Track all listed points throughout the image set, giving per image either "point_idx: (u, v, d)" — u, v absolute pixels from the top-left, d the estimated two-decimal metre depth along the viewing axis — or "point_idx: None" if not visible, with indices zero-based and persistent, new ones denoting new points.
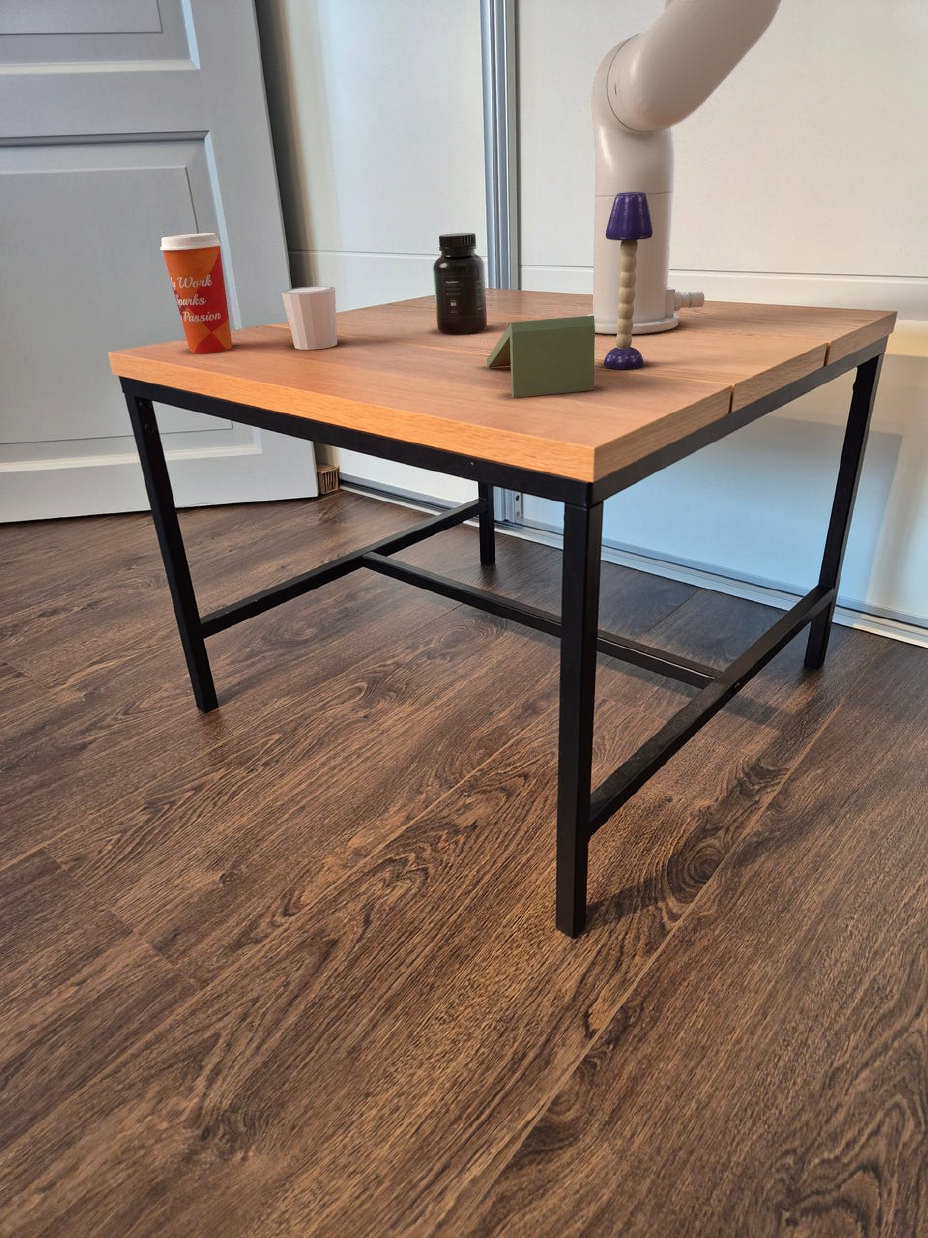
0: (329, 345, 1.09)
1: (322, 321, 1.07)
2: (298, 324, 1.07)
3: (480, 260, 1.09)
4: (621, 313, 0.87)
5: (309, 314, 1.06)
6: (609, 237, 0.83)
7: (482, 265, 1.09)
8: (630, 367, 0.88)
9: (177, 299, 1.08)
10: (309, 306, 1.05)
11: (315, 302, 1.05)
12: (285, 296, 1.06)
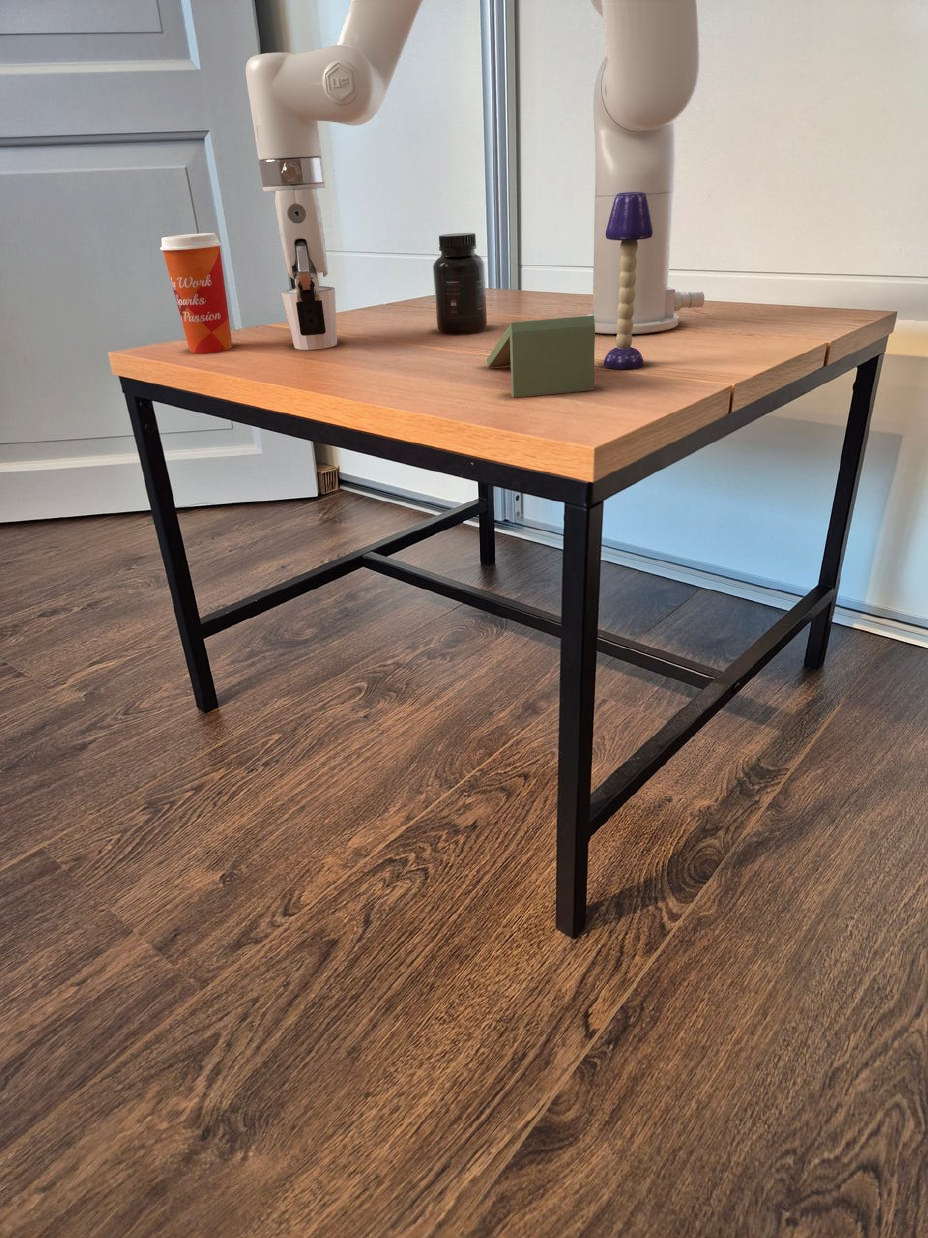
0: (329, 345, 1.09)
1: None
2: (298, 324, 1.07)
3: (480, 260, 1.09)
4: (621, 313, 0.87)
5: None
6: (609, 237, 0.83)
7: (482, 265, 1.09)
8: (630, 367, 0.88)
9: (177, 299, 1.08)
10: None
11: None
12: (285, 296, 1.06)
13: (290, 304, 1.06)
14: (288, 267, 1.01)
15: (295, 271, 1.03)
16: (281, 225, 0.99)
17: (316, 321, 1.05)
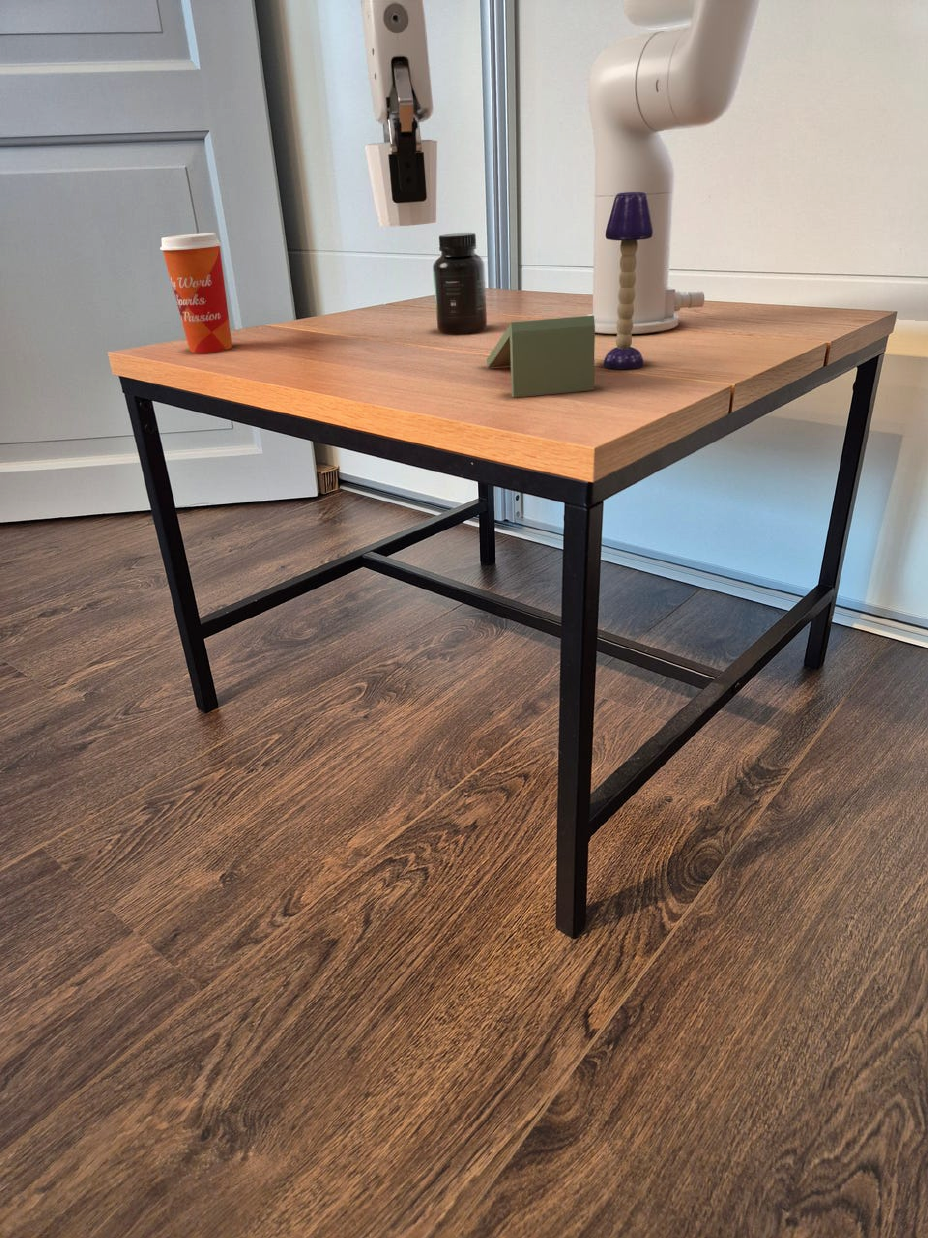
0: (427, 221, 0.80)
1: None
2: (388, 189, 0.78)
3: (480, 260, 1.09)
4: (621, 313, 0.87)
5: None
6: (609, 237, 0.83)
7: (482, 265, 1.09)
8: (630, 367, 0.88)
9: (177, 299, 1.08)
10: None
11: None
12: (371, 149, 0.77)
13: (378, 160, 0.77)
14: (381, 100, 0.73)
15: None
16: (373, 36, 0.71)
17: (415, 181, 0.76)
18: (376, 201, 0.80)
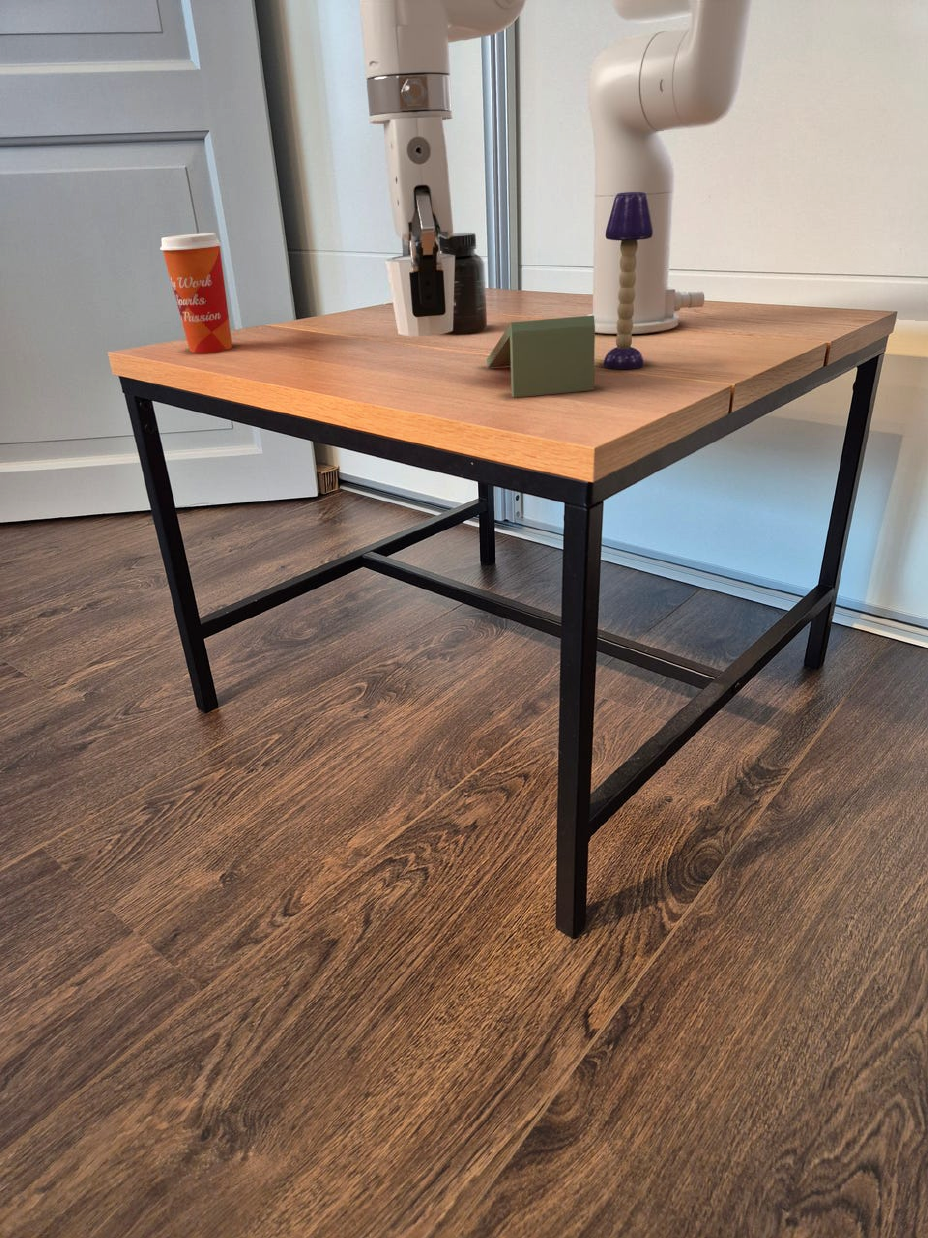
0: (445, 330, 0.83)
1: None
2: (408, 302, 0.81)
3: (480, 260, 1.09)
4: (621, 313, 0.87)
5: None
6: (609, 237, 0.83)
7: (482, 265, 1.09)
8: (630, 367, 0.88)
9: (177, 299, 1.08)
10: None
11: None
12: (392, 265, 0.80)
13: (399, 275, 0.80)
14: (403, 224, 0.76)
15: (410, 230, 0.77)
16: (397, 166, 0.74)
17: (435, 298, 0.79)
18: (396, 311, 0.83)
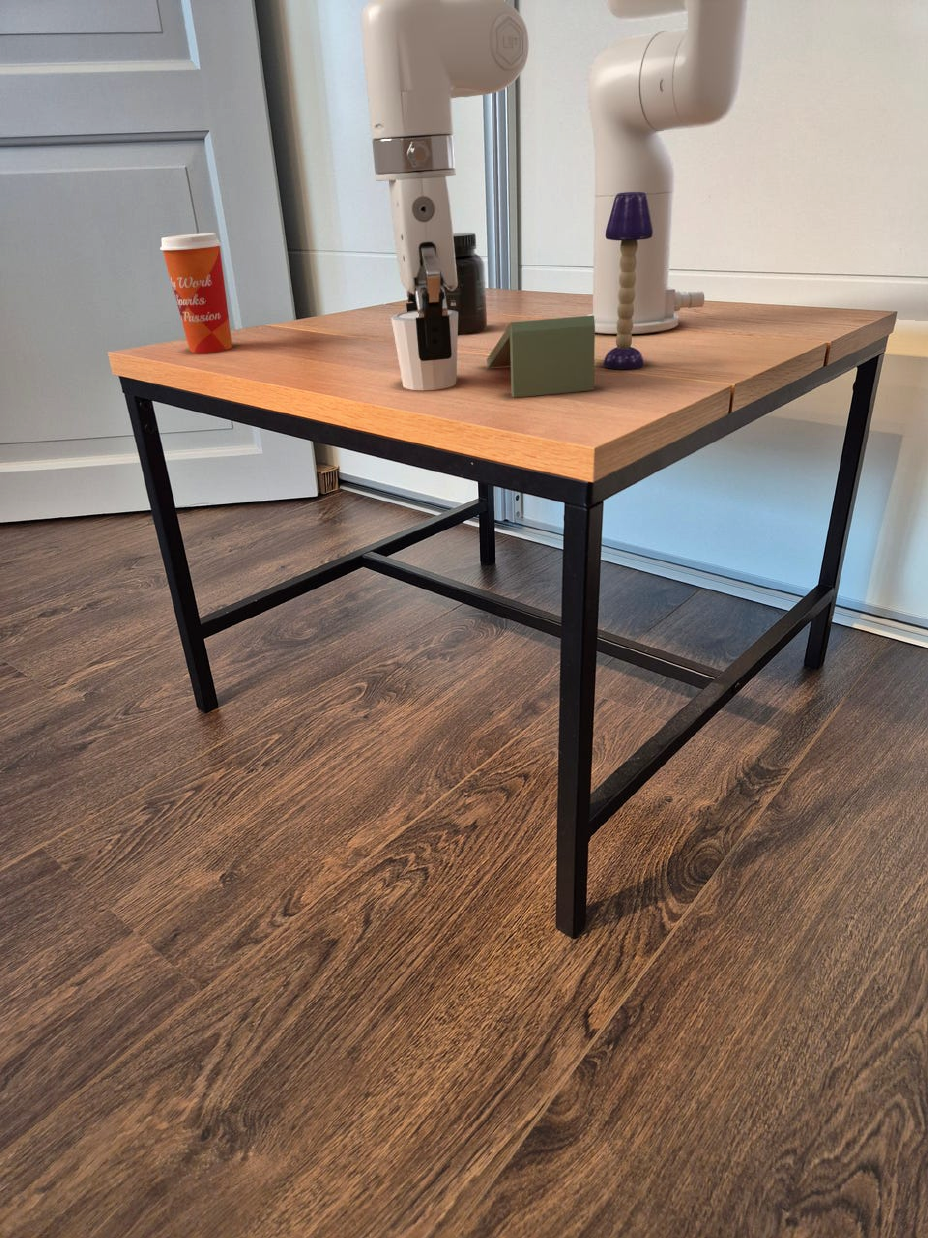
0: (449, 384, 0.86)
1: None
2: (412, 358, 0.84)
3: (480, 260, 1.09)
4: (621, 313, 0.87)
5: None
6: (609, 237, 0.83)
7: (482, 265, 1.09)
8: (630, 367, 0.88)
9: (177, 299, 1.08)
10: None
11: None
12: (397, 323, 0.83)
13: (404, 333, 0.83)
14: (409, 279, 0.78)
15: None
16: (402, 225, 0.76)
17: (441, 342, 0.80)
18: (401, 366, 0.86)
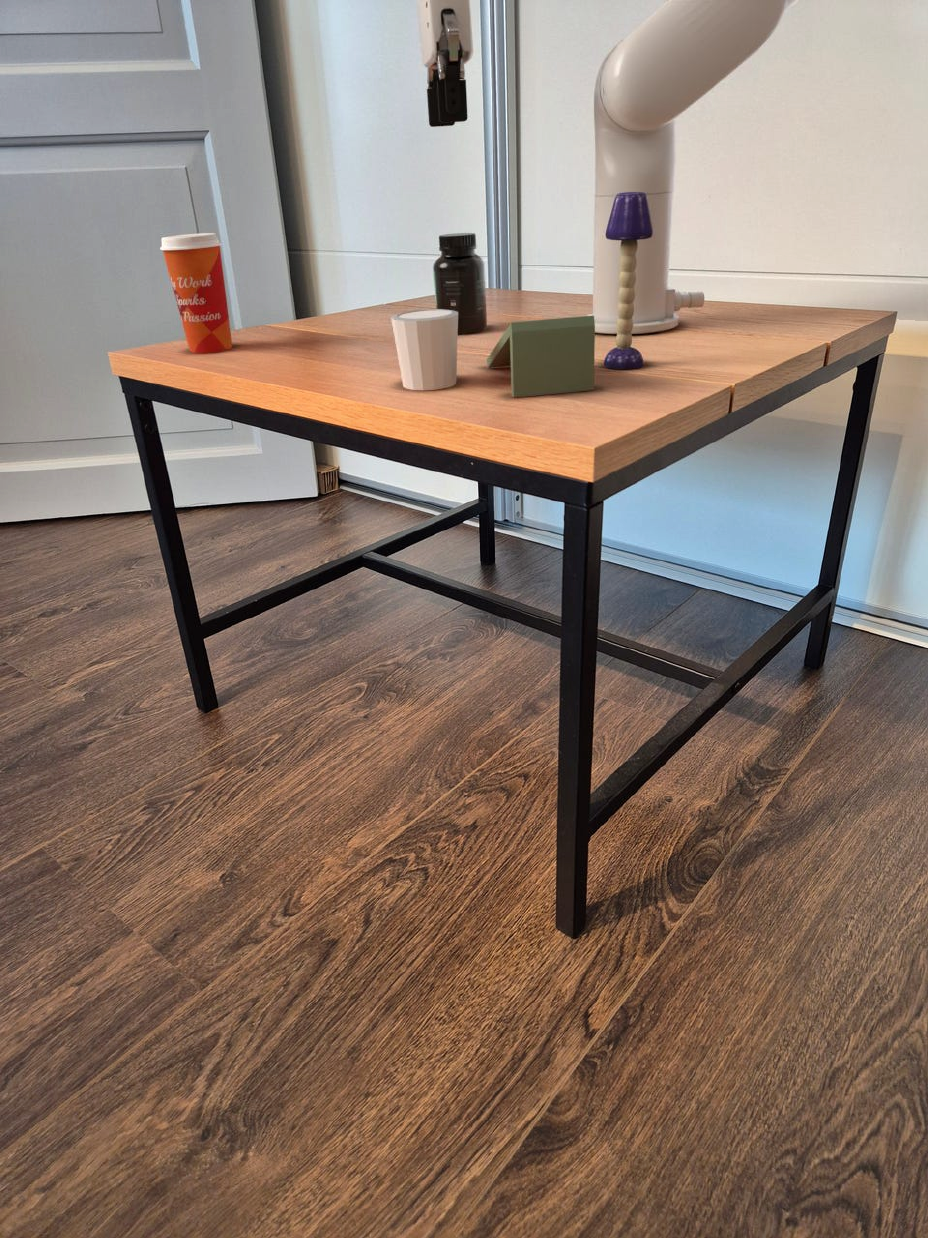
0: (449, 384, 0.86)
1: (443, 355, 0.84)
2: (412, 358, 0.84)
3: (480, 260, 1.09)
4: (621, 313, 0.87)
5: (428, 346, 0.83)
6: (609, 237, 0.83)
7: (482, 265, 1.09)
8: (630, 367, 0.88)
9: (177, 299, 1.08)
10: (429, 336, 0.82)
11: (436, 331, 0.82)
12: (397, 323, 0.83)
13: (404, 333, 0.83)
14: (432, 44, 0.91)
15: None
16: None
17: (459, 103, 0.93)
18: (401, 366, 0.86)
